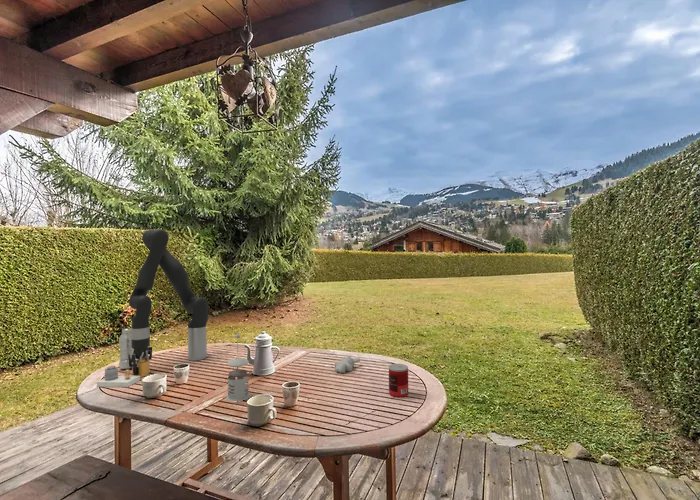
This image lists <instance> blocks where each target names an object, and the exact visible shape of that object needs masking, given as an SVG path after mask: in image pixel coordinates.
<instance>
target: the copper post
mask: <svg viewBox="0 0 700 500" xmlns="http://www.w3.org/2000/svg"><path fill="white" fill-rule="evenodd" d="M124 376H125V380H128V379H130V376H131V368H129V369H124Z"/></svg>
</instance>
